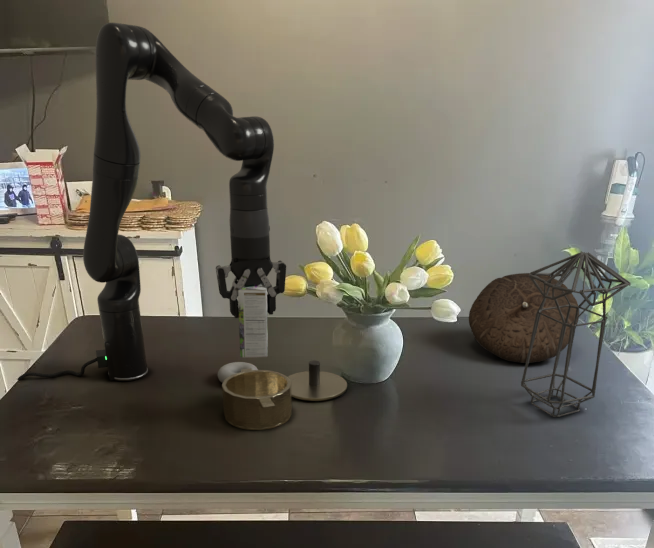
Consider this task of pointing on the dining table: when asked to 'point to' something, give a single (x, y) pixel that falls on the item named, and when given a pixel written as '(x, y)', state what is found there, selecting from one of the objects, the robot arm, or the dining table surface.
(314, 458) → the dining table surface
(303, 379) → the lid
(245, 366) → the donut
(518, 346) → the brown fungus
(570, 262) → the geometric lantern
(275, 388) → the pot
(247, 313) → the syrup box
